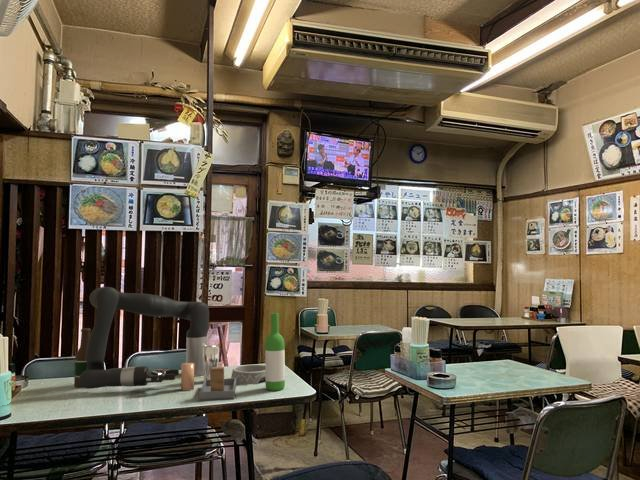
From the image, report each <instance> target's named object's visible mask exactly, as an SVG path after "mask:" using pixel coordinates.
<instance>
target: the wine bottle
mask: <svg viewBox="0 0 640 480" xmlns="http://www.w3.org/2000/svg"><path fill="white" fill-rule="evenodd" d="M270 318H271V319H270V334H268V336H267V337H266V339H265V341H264V343H265V345H264V346H265V349H264V351H265V352H264V353H265V355H264V356H265V361H264V363H265V364H264V365H265V380H264V381H265V389H266V390H268V391H275V392H277V391H281V390H284V388H285V386H286V382H285V381H286V376H285V375H286V368H285V367H286V366H285V364H286V363H285V361H286V360H285V359H286V357H285V354H286V353H285V339H284V337H283V336H282V335H281V334H280V332H279V313H278V312H271V313H270Z"/></svg>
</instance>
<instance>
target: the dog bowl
mask: <svg viewBox="0 0 640 480" xmlns="http://www.w3.org/2000/svg"><path fill="white" fill-rule="evenodd" d="M230 378H236V385H240V384H253V385H259V382H263V381H266V380H265V364H244V365H238V366H235V367H233V368H232V372H231V377H230Z"/></svg>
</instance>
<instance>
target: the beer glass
mask: <svg viewBox="0 0 640 480" xmlns="http://www.w3.org/2000/svg"><path fill="white" fill-rule="evenodd" d="M219 349H220V348H219V345H216V344H210V345H208V344H207V346H203V356H202V357H203V366H204V376H203V383H204V381H205V380H207V379H211V368H212V367H219V363H220V362H219V361H220V350H219Z"/></svg>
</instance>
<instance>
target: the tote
mask: <svg viewBox="0 0 640 480" xmlns="http://www.w3.org/2000/svg"><path fill="white" fill-rule="evenodd" d="M203 381H204V380H203ZM236 389H237V384H236V378H231V377H230V378H224V391H211V379H207V380H205V381H204V382H203V384H202V385H201V387H200V390H199V392H198V401H218V400H220V401H221V400H234V399H235V395H236V391H237V390H236Z"/></svg>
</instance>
